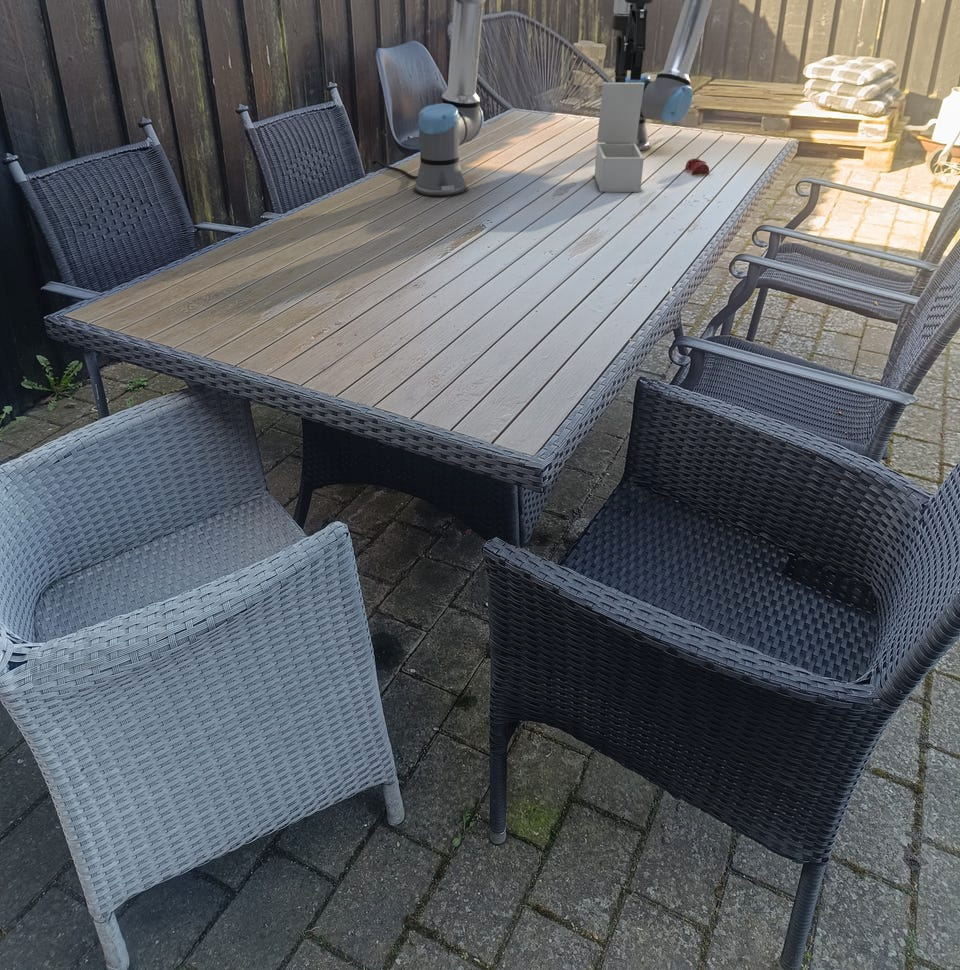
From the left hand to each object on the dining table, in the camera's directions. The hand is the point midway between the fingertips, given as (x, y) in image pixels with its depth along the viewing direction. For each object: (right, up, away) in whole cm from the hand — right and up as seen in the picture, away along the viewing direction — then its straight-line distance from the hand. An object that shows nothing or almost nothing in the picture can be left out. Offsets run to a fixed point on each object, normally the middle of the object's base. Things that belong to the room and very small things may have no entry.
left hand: (631, 74), depth 231 cm
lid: (+1, +1, +27) cm, 27 cm away
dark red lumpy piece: (+29, -11, +43) cm, 53 cm away
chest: (+1, -18, +33) cm, 37 cm away
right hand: (+1, +7, +30) cm, 31 cm away
